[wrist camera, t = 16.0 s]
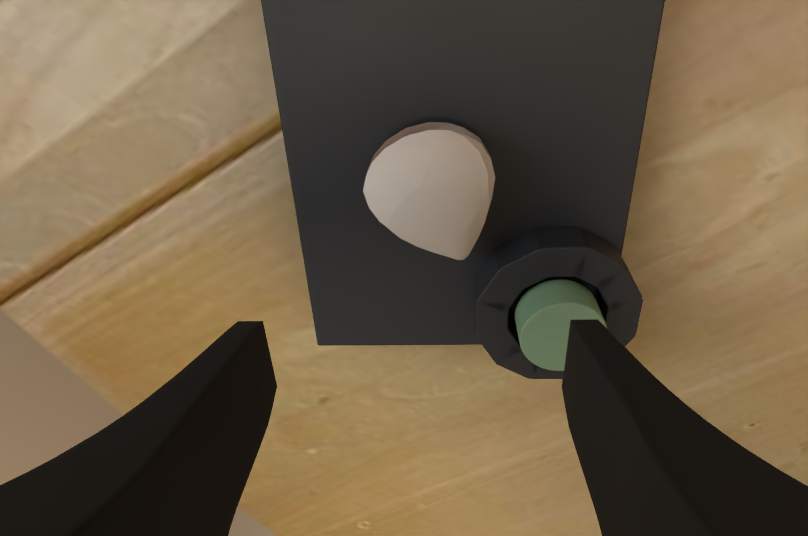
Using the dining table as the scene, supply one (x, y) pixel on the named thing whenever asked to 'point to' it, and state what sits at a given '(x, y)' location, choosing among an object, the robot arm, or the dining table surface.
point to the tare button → (552, 320)
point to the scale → (502, 137)
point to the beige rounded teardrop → (432, 187)
